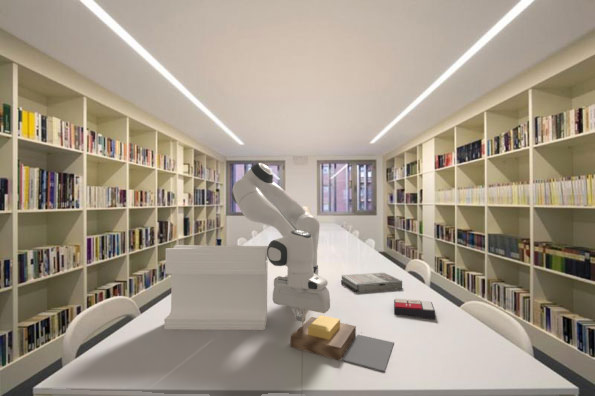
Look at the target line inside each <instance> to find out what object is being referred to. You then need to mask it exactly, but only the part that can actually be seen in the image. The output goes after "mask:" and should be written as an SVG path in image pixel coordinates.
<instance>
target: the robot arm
mask: <svg viewBox="0 0 595 396" xmlns="http://www.w3.org/2000/svg"><path fill="white" fill-rule="evenodd" d="M273 179H274V175H273V172H272V170H271V168H270V167H269V166H267V165H266V164H264V163H262V162H256V163H255V164H252V166H250V169H248V170H247V171H246V173H245V174H244V175H243V176H242V177H241V179H238V180H237V181H236V182H235V183H234V184H233V187H232V192H231V199H232V201H233V202H234V203H235V204H236V205H237V207H238V208H239V210H240V211H241V213H242V214H243V216H244V217H245V218H246V219H247V220H248V221H250V222H253V223H259V224H264V225H266V226H267V225H268V226H270V227H273V228H274V229H276V230H277V232H278V233H279V234H280V235H281V236H282V237H280V238H276V239H273V240H271V241H270V242H269V244H268V245H267V246H268V248H267V256H268V262H269V263H271V265H273V266H275V267H284V266H285V267H287V275H285V276H280V275H278V276H277V277H275V278H274V279H273V290H272V302H273V304H275V305H281V306H285V307H291V311H292V313H293V314H294V321H297V322H301V323H305V321H306V315H307V314H308V312H309V311H310V312H316V313H320V314H326V313H327V312H328V311H329V310H331V309H330V308H331V298H330V291H329V288H328V287H327V286H328V280H327V279H326V278H324V277H322V276H319V266H318V245H319V238H320V227H321V226H320V221H319V220H318V218H316V216H314V215H313V214H311V213H309V212H308V211H307V210H306V209H305V208H303V206H301V204H300V203H299V202H298V201H296V199H294V198H293V197H292V196H291V195H290V194H289V193H288V192H287V191H286V190H285V189H284V188H282V187H281V186H279V185H278V184H277V183H275V182H274V180H273ZM298 309H301V313H302V314H300V311H299V310H298Z"/></svg>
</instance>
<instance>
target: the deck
mask: <svg viewBox="0 0 595 396" xmlns="http://www.w3.org/2000/svg"><path fill="white" fill-rule="evenodd" d="M317 318H318V317H315V316H314V317H313V316H311V317H310V318H308V319H307V320H306V322H303V324H302V325H301V326H300V327H299V328H298V329H296V331H294V332H293V333H292V334H290V348H294V349H296V350H297V349H298V350H301V351H304V352H309V353H313V354H316V355H319V356H322V357H327V358H330V359H333V360H337V361H342V359H343V357H344V355H345V354H346V352H347V351H348V349H349V347H350V346H351V344H352V343H353V341H354V339H355V338H356V336H357V334H356V333H357V330H356V329H357V326H356V325H351V324H348V323H342V322H340V327H339V329H338V330H337V331H336V332H335V334H334V335H333V336H332V337H331V338H330V340H328V339H324V338H320V337H316V336H312V335H308V326H309V325H311V324H312V323H313V322H314V321H315V320H316V319H317Z"/></svg>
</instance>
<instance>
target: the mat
mask: <svg viewBox="0 0 595 396" xmlns="http://www.w3.org/2000/svg"><path fill="white" fill-rule="evenodd" d="M393 347H394V342H393V341H389V340H385V339H380V338H376V337H370V336H366V335H362V334H356V337H355V338H354V340H353V342H352V343H351V345H350V346H349V348H348V350H347V351H346V353H345V354H344V356H343V358H342V359H341V361H342V362H345V363H349V364H351V365H357V366H360V367H364V368H367V369H370V370H375V371H378V372H382V373H385V372H386V369H387V365H388V362H389V360H390V356H391V353H392V350H393Z"/></svg>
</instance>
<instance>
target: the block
mask: <svg viewBox="0 0 595 396" xmlns="http://www.w3.org/2000/svg"><path fill="white" fill-rule="evenodd" d="M267 248H268V245H201V244H200V245H197V244H196V245H195V244H191V245H189V244H188V245H187V244H186V245H185V244H181V245H180V244H176V245H174V246H173V248H172V247H171V248H170V247H168V248H167V247H166V248H165V259H164V261H165V262H164V263H165V265H164V267H165V269H164V270H165V271H164V274H165V275H171V291H170V292H171V293H170V297H171V298H170V300H171V302H170V303H171V304H170V313H169V314H168V315H167V316H166V317H165V318H164V320H163V321H164V323H163V324H164V327H163V328H164V329H163V330H238V331H239V330H241V331H242V330H250V331H252V330H255V331H256V330H259V331H262V330H263V331H264V330H266V326H267V322H268V273H269V272H268V262H269V259H268V256H267Z"/></svg>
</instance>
